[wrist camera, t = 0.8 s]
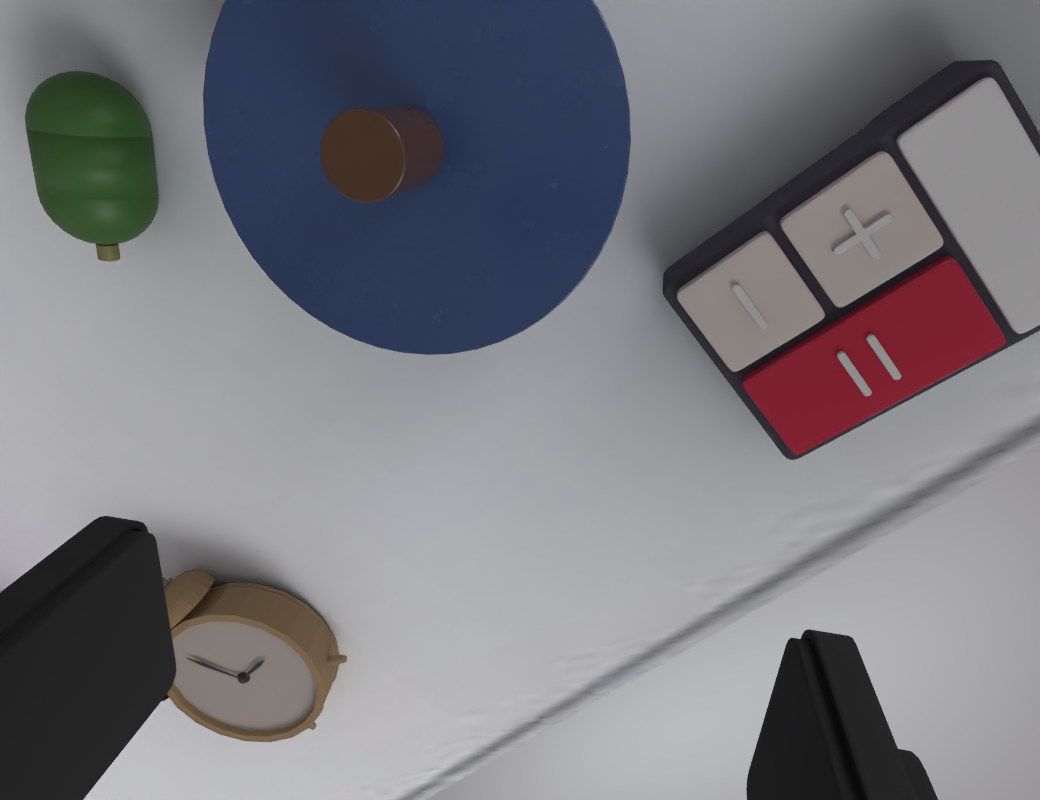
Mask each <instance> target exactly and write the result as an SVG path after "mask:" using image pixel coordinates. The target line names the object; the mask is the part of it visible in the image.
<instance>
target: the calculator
mask: <svg viewBox="0 0 1040 800" xmlns="http://www.w3.org/2000/svg"><path fill="white" fill-rule="evenodd" d="M663 295H664V297H665V298H666V300H667V301H668V302H669V304H670V305H671V306H672V308H673V309H674V310H675V312H676V313H677V314H678V316H679V317H680V318H681V320H682V321H683V322H684V324H685V325H686V326H687V328H688V329H689V330H690V332H691V333H692V334H693V336H694V337H695V338H696V340H697V341H698V342H699V344H700V345H701V346H702V348H703V349H704V350H705V352H706V353H707V354H708V356H709V357H710V358H711V360H712V361H713V362H714V364H715V365H716V366H717V367H718V369H719V370H720V371H721V373H722V374H723V375H724V377H725V378H726V379H727V381H728V382H729V383H730V385H731V386H732V387H733V389H734V390H735V391H736V393H737V394H738V395H739V397H740V398H741V399H742V401H743V402H744V403H745V405H746V406H747V407H748V409H749V410H750V411H751V413H752V414H753V415H754V417H755V418H756V419H757V421H758V422H759V423H760V425H761V426H762V427H763V429H764V430H765V431H766V433H767V434H768V435H769V437H770V438H771V439H772V440H773V442H774V443H775V444H776V446H777V447H778V448H779V450H780V451H781V452H782V454H783V455H784V456H785V457H786V458H787V459H790V460H795V459H798V458H800V457H802V456H804V455H806V454H808V453H810V452H812V451H814V450H816V449H817V448H819V447H821V446H823V445H825V444H827V443H829V442H831V441H833V440H834V439H836V438H838V437H840V436H842V435H844V434H846V433H848V432H849V431H851V430H853V429H855V428H857V427H859V426H861V425H863V424H865V423H866V422H868V421H870V420H872V419H874V418H876V417H878V416H880V415H881V414H883V413H885V412H887V411H889V410H891V409H893V408H895V407H897V406H898V405H900V404H902V403H904V402H906V401H908V400H910V399H912V398H913V397H915V396H917V395H919V394H921V393H923V392H925V391H927V390H929V389H930V388H932V387H934V386H936V385H938V384H940V383H942V382H944V381H946V380H947V379H949V378H951V377H953V376H955V375H957V374H959V373H961V372H962V371H964V370H966V369H968V368H970V367H972V366H974V365H976V364H978V363H979V362H981V361H983V360H985V359H987V358H989V357H991V356H993V355H994V354H996V353H998V352H1000V351H1002V350H1004V349H1006V348H1008V347H1010V346H1011V345H1013V344H1015V343H1017V342H1019V341H1021V340H1023V339H1025V338H1026V337H1028V336H1030V335H1032V334H1034V333H1036V332H1038V331H1040V134H1039V132H1038V130H1037V129H1036V127H1035V125H1034V123H1033V122H1032V120H1031V118H1030V116H1029V115H1028V113H1027V111H1026V109H1025V108H1024V106H1023V104H1022V102H1021V101H1020V99H1019V97H1018V95H1017V94H1016V92H1015V90H1014V88H1013V87H1012V85H1011V83H1010V81H1009V80H1008V78H1007V76H1006V74H1005V72H1004V71H1003V69H1002V68H1001V66H1000V65H999V63H997V62H996V61H993V60H978V61H957V62H954V63H952V64H950V65H949V66H947V67H946V68H944V69H943V70H941V71H940V72H938V73H937V74H936V75H934V76H933V77H931V78H930V79H929V80H927V81H926V82H924V83H923V84H922V85H920V86H919V87H917V88H916V89H915V90H913V91H912V92H910V93H909V94H908V95H906V96H905V97H903V98H902V99H901V100H899V101H898V102H896V103H895V104H894V105H892V106H891V107H889V108H888V109H887V110H885V111H884V112H882V113H881V114H880V115H878V116H877V117H876V118H874V119H873V120H872V121H871V122H870V123H869V124H868V125H867V126H865V127H864V128H863V129H862V130H861V131H860V132H859V133H858V134H856V135H855V136H853V137H852V138H851V139H849V140H848V141H846V142H845V143H844V144H842V145H841V146H839V147H838V148H836V149H835V150H834V151H832V152H831V153H829V154H828V155H827V156H825V157H824V158H822V159H821V160H820V161H818V162H817V163H815V164H814V165H813V166H811V167H810V168H808V169H807V170H806V171H804V172H803V173H801V174H800V175H798V176H797V177H796V178H794V179H793V180H791V181H790V182H789V183H787V184H786V185H784V186H783V187H782V188H780V189H779V190H777V191H776V192H775V193H773V194H772V195H770V196H769V197H768V198H766V199H765V200H763V201H762V202H760V203H759V204H758V205H756V206H755V207H753V208H752V209H751V210H749V211H748V212H746V213H745V214H744V215H742V216H741V217H739V218H738V219H737V220H735V221H734V222H732V223H731V224H730V225H728V226H727V227H725V228H724V229H722V230H721V231H720V232H718V233H717V234H715V235H714V236H713V237H711V238H710V239H708V240H707V241H706V242H704V243H703V244H701V245H700V246H699V247H697V248H696V249H694V250H693V251H692V252H690V253H689V254H687V255H686V256H684V257H683V258H682V259H680V260H679V261H677V262H676V263H675V264H673V265H672V266H670V267H669V268H668V269H667V270H666V271H665V272H664V275H663Z"/></svg>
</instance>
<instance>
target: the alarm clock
mask: <svg viewBox="0 0 1040 800" xmlns="http://www.w3.org/2000/svg"><path fill="white" fill-rule="evenodd" d="M162 579H163V586H164V592H165V598H166V604H167V610H168V616H169V623H170V629H171V635H172V641H173V647H174V653H175V659H176V669H177V670H176V676H175V679H174V682H173V685H172V687H171V689H170V690H169V692H168V693H167V694H166V696H165V697H164V698H163V700H162V701H164V700H166V699H168V698H169V697H170V699H171V700H172V701H173V703H174V704H175V705H176V706H177V708H179V709H180V710H181V711H182V712H184V713H185V714H186V715H187V716H189V717H190V718H191V719H192V720H194V721H195V722H196V723H198V724H200V725H202V726H204V727H206V728H208V729H210V730H212V731H214V732H216V733H218V734H220V735H224V736H228V737H232V738H236V739H239V740H243V741H257V742H272V741H277V740H282V739H287V738H291V737H294V736H295V735H297V734H299V733H301V732H302V731H304V730H306V729H308V728H310V729H312V730H313V729H315V727H316V724H315V722H314V721H315V720H316V719H317V717H318V716H319V715H320V713H321V712H322V709H323V705H324V702H325V700H326V697H327V695H328V693H329V690H330V688H331V685H332V683H333V681H334V680H335V678H336V674H337V670H338V665H339V664H341V663H344V662H346V661H347V657H346V656H345V655H339V653H338V648H337V643H336V639H335V637H334V636H333V634H332V632H331V631H330V629H329V628H328V626H327V624H326V623H325V621H324V620H323V619H322V618H321V617H320V616H319V615H318V614H317V613H316V612H315V611H313V610H312V609H311V608H310V607H309V606H308V605H307V604H306V603H304V602H302V601H301V600H299V599H297V598H295V597H293V596H291V595H289V594H288V593H286V592H284V591H282V590H279V589H275V588H271V587H268V586H264V585H260V584H256V583H227V584H224V585H220V586H216V587H213V588H210V587H211V586H212V584H213V582H214V580H215V579H214V577H212V576H211V575H210V574H208V573H206V572H203V571H188V572H186V573H183V574H181V575H179V576H177V577H175V578H174V579H172V578H170V579H169V580H166V579H164V578H162Z"/></svg>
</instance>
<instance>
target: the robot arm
mask: <svg viewBox="0 0 1040 800" xmlns="http://www.w3.org/2000/svg"><path fill="white" fill-rule="evenodd" d="M176 670H177V669H176V659H175V653H174V647H173V641H172V635H171V629H170V623H169V616H168V610H167V604H166V598H165V592H164V586H163V579H162V573H161V567H160V561H159V555H158V549H157V542H156V539H155V537H154V536H153V534H151V533H149V532H148V529H147V527H146V526H145V524H144V523H142V522H139V521H134V520H128V519H122V518H115V517H109V516H103V517H99V518H97V519H96V520H94V521H92V522H91V523H90V524H89V525H87V526H86V527H85V528H83V529H82V530H81V531H79V532H78V533H77V534H76V535H74V536H73V537H72V538H70V539H69V540H68V541H67V542H65V543H64V544H63V545H61V546H60V547H59V548H57V549H56V550H55V551H54V552H52V553H51V554H50V555H48V556H47V557H46V558H44V559H43V560H42V561H41V562H39V563H38V564H37V565H35V566H34V567H33V568H32V569H30V570H29V571H28V572H26V573H25V574H24V575H22V576H21V577H20V578H19V579H17V580H16V581H15V582H13V583H12V584H11V585H9V586H8V587H7V588H6V589H4V590H3V591H2V592H0V800H83V799H84V798H85V796H86V795H87V794H88V793H89V791H90V790H91V789H92V788H93V786H94V785H95V784H96V783H97V781H98V780H99V779H100V778H101V776H102V775H103V774H104V773H105V771H106V770H107V769H108V767H109V766H110V765H111V764H112V762H113V761H114V760H115V759H116V757H117V756H118V755H119V754H120V752H121V751H122V750H123V749H124V747H125V746H126V745H127V744H128V742H129V741H130V740H131V739H132V737H133V736H134V735H135V734H136V732H137V731H138V730H139V728H140V727H141V726H142V725H143V723H144V722H145V721H146V720H147V718H148V717H149V716H150V715H151V713H152V712H153V711H154V710H155V708H156V707H157V706H158V705H159V703H160V702H161V701H162V700H163V698H164V697H165V696H166V694H167V693H168V692H169V690H170V689H171V687H172V685H173V682H174V679H175V676H176ZM747 800H938V799H937V796H936V794H935V792H934V789H933V787H932V784H931V782H930V780H929V777H928V776H927V773H926V770H925V769H924V767H923V765H922V763H921V761H920V760H919V758H918V757H917V756H916V755H914V753H912V752H911V751H906V750H901V749H898V748H897V746H896V743H895V741H894V739H893V736H892V733H891V731H890V728H889V726H888V723H887V721H886V718H885V716H884V713H883V711H882V708H881V706H880V703H879V701H878V698H877V696H876V693H875V691H874V688H873V686H872V683H871V681H870V678H869V676H868V673H867V670H866V668H865V666H864V663H863V660H862V658H861V655H860V653H859V650H858V648H857V645H856V643H855V642H854V640H853V638H851V637H850V636H845V635H840V634H833V633H827V632H820V631H815V630H806V631H805V632H804V633H803V634H802V637H801V639H796V638H790V639H789V640H788V642H787V644H786V648H785V651H784V654H783V658H782V661H781V664H780V668H779V671H778V675H777V678H776V681H775V685H774V688H773V691H772V695H771V698H770V701H769V705H768V708H767V712H766V715H765V718H764V722H763V725H762V728H761V732H760V735H759V739H758V742H757V745H756V749H755V752H754V756H753V759H752V762H751V766H750V769H749V773H748V779H747Z"/></svg>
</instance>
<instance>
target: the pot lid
mask: <svg viewBox="0 0 1040 800" xmlns="http://www.w3.org/2000/svg"><path fill="white" fill-rule="evenodd" d="M203 101H204V127H205V135H206V142H207V149H208V155H209V159H210V163H211V167H212V171H213V175H214V179H215V182H216V185H217V188H218V190H219V193H220V196H221V199H222V201H223V204H224V207H225V209H226V211H227V213H228V215H229V217H230V219H231V221H232V223H233V225H234V227H235V229H236V231H237V233H238V235H239V236H240V238H241V240H242V241H243V243H244V244H245V246H246V247H247V249H248V251H249V252H250V254H251V255H252V257H253V258H254V259H255V261H256V262H257V263H258V264H259V266H260V267H261V268H262V269H263V271H264V272H265V273H266V274H267V276H268V277H269V278H270V279H271V280H272V281H273V282H274V283H275V284H276V285H277V286H278V287H279V288H280V289H281V290H282V291H283V292H284V293H285V294H286V295H287V296H288V297H289V298H290V299H291V300H292V301H294V302H295V303H296V304H297V305H299V306H300V307H301V308H302V309H304V310H305V311H306V312H307V313H309V314H310V315H312V316H313V317H315V318H316V319H318V320H319V321H321V322H323V323H324V324H326V325H327V326H329V327H330V328H332V329H334V330H336V331H338V332H341V333H343V334H345V335H347V336H349V337H351V338H353V339H355V340H358V341H361V342H364V343H367V344H370V345H373V346H376V347H379V348H384V349H388V350H393V351H398V352H403V353H414V354H426V355H431V354H453V353H458V352H464V351H470V350H475V349H479V348H482V347H485V346H488V345H492V344H495V343H498V342H501V341H503V340H505V339H507V338H509V337H511V336H514V335H516V334H518V333H520V332H522V331H524V330H525V329H527V328H529V327H530V326H532V325H533V324H535V323H536V322H538V321H539V320H541V319H542V318H544V317H545V316H547V315H548V314H549V313H550V312H551V311H552V310H554V309H555V308H556V307H557V306H558V305H559V304H561V303H562V302H563V301H564V300H565V299H566V298H567V297H568V296H569V295H570V293H571V292H572V291H573V290H574V289H575V288H576V287H577V286H578V284H579V283H580V282H581V281H582V280H583V279H584V277H585V276H586V274H587V273H588V271H589V270H590V268H591V267H592V265H593V264H594V262H595V261H596V260H597V258H598V257H599V255H600V253H601V251H602V249H603V247H604V245H605V243H606V241H607V239H608V237H609V235H610V233H611V231H612V228H613V225H614V222H615V219H616V217H617V214H618V211H619V208H620V205H621V202H622V197H623V193H624V188H625V184H626V179H627V174H628V166H629V155H630V143H631V135H630V109H629V103H628V96H627V90H626V84H625V78H624V74H623V71H622V67H621V64H620V60H619V57H618V54H617V50H616V47H615V44H614V42H613V39H612V37H611V35H610V32H609V30H608V28H607V26H606V23H605V21H604V19H603V16H602V14H601V12H600V11H599V9H598V7H597V6H596V4H595V2H594V1H593V0H226V1H225V3H224V4H223V7H222V9H221V12H220V15H219V18H218V21H217V24H216V26H215V29H214V32H213V35H212V39H211V44H210V49H209V53H208V58H207V62H206V71H205V81H204V92H203Z"/></svg>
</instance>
